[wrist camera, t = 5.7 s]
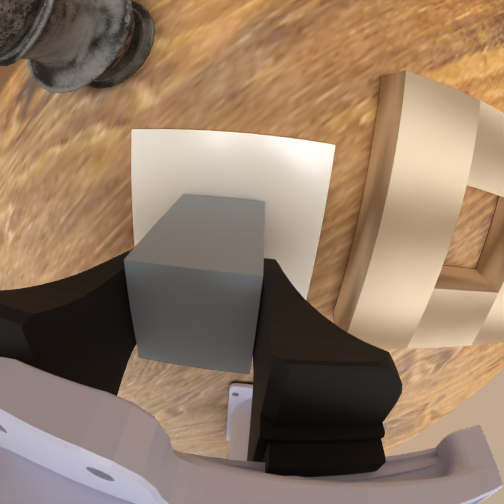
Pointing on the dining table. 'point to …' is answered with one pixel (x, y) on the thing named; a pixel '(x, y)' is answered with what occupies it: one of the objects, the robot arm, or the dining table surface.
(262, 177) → the coaster
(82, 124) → the dining table surface
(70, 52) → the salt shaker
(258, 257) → the peg
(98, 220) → the dining table surface
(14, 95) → the dining table surface
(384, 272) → the pocket board
